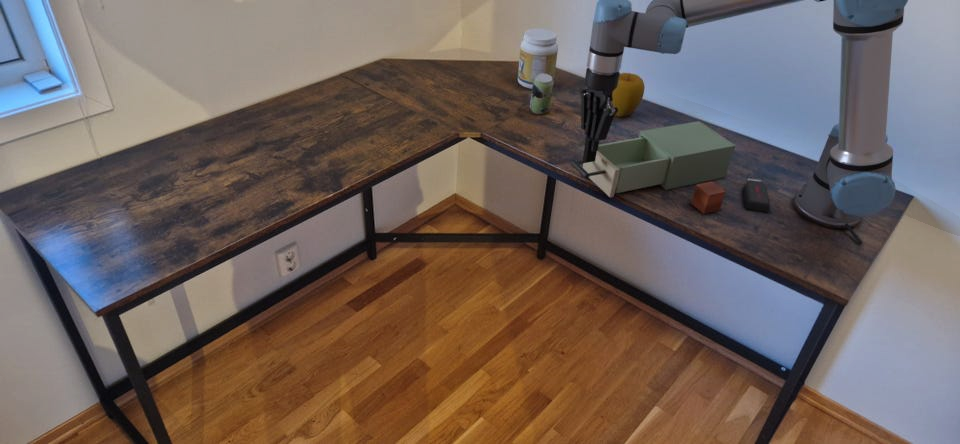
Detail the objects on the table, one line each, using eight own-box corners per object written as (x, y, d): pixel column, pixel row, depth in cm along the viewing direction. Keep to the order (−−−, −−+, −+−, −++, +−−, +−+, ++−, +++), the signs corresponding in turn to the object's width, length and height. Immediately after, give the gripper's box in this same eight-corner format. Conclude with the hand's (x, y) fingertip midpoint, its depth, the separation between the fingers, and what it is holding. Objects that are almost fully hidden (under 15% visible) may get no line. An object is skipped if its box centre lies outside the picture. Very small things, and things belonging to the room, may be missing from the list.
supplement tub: (514, 75, 222) (518, 27, 213) (549, 76, 224) (555, 27, 214) (520, 90, 213) (524, 40, 203) (556, 90, 214) (563, 40, 204)
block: (719, 210, 160) (725, 191, 157) (703, 214, 159) (709, 195, 156) (706, 199, 164) (712, 181, 161) (690, 203, 162) (696, 184, 159)
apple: (636, 124, 197) (644, 84, 189) (600, 118, 199) (607, 78, 192) (640, 110, 205) (649, 71, 198) (606, 104, 208) (613, 65, 200)
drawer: (588, 201, 159) (593, 174, 154) (561, 174, 169) (565, 148, 164) (670, 184, 167) (677, 158, 163) (640, 159, 177) (646, 134, 173)
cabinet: (665, 190, 167) (673, 157, 161) (633, 162, 178) (639, 131, 172) (725, 177, 174) (735, 145, 168) (690, 151, 184) (699, 120, 179)
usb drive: (746, 208, 162) (749, 199, 160) (741, 184, 171) (744, 175, 170) (768, 212, 161) (771, 203, 159) (762, 187, 170) (765, 178, 169)
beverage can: (544, 106, 204) (548, 69, 197) (553, 116, 198) (558, 79, 191) (525, 107, 202) (529, 71, 195) (534, 118, 197) (538, 81, 190)
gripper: (633, 78, 143) (616, 170, 157) (602, 57, 153) (588, 146, 166) (604, 82, 141) (589, 176, 154) (574, 60, 150) (562, 150, 164)
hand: (588, 160), depth 160 cm, fingers closed
